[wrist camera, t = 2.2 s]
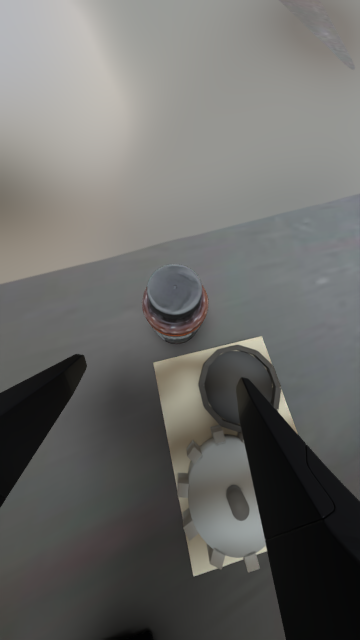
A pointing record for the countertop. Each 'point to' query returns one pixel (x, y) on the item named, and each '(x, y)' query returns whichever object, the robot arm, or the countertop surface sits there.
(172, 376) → the gear board
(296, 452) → the robot arm
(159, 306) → the supplement bottle
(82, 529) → the countertop surface
